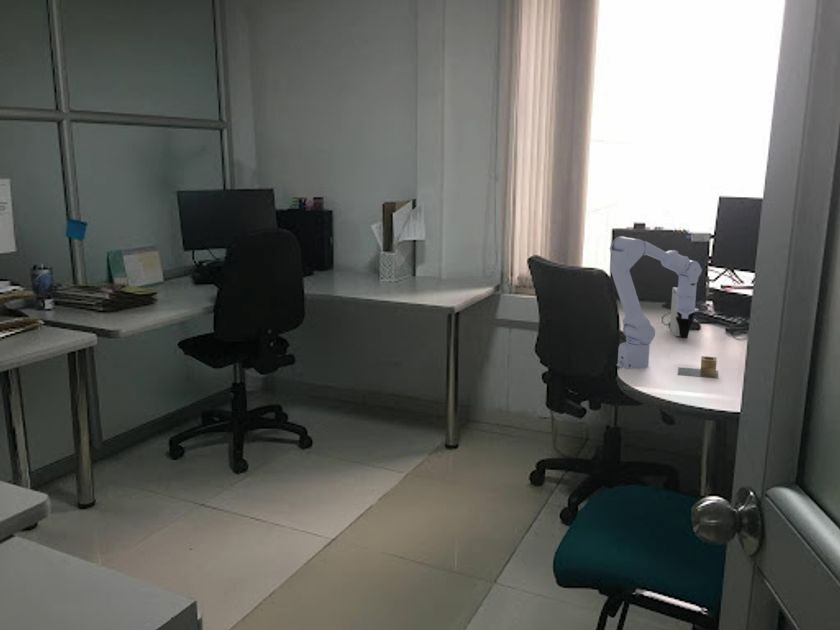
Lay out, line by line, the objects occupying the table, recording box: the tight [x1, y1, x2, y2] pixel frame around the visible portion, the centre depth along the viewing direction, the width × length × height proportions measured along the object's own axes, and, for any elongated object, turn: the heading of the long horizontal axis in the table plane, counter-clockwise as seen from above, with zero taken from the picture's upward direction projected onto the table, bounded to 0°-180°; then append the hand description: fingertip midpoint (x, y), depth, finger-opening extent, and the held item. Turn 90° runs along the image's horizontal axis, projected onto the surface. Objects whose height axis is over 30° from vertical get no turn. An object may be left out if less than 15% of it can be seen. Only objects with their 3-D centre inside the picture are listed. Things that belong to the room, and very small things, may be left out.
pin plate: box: [677, 366, 719, 380], centre depth 227 cm, size 12×9×1 cm
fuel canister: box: [669, 286, 680, 338], centre depth 277 cm, size 15×5×25 cm, turn 170°
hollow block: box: [700, 355, 718, 376], centre depth 225 cm, size 4×4×5 cm
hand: (684, 335), depth 240 cm, fingers open, 7 cm apart
